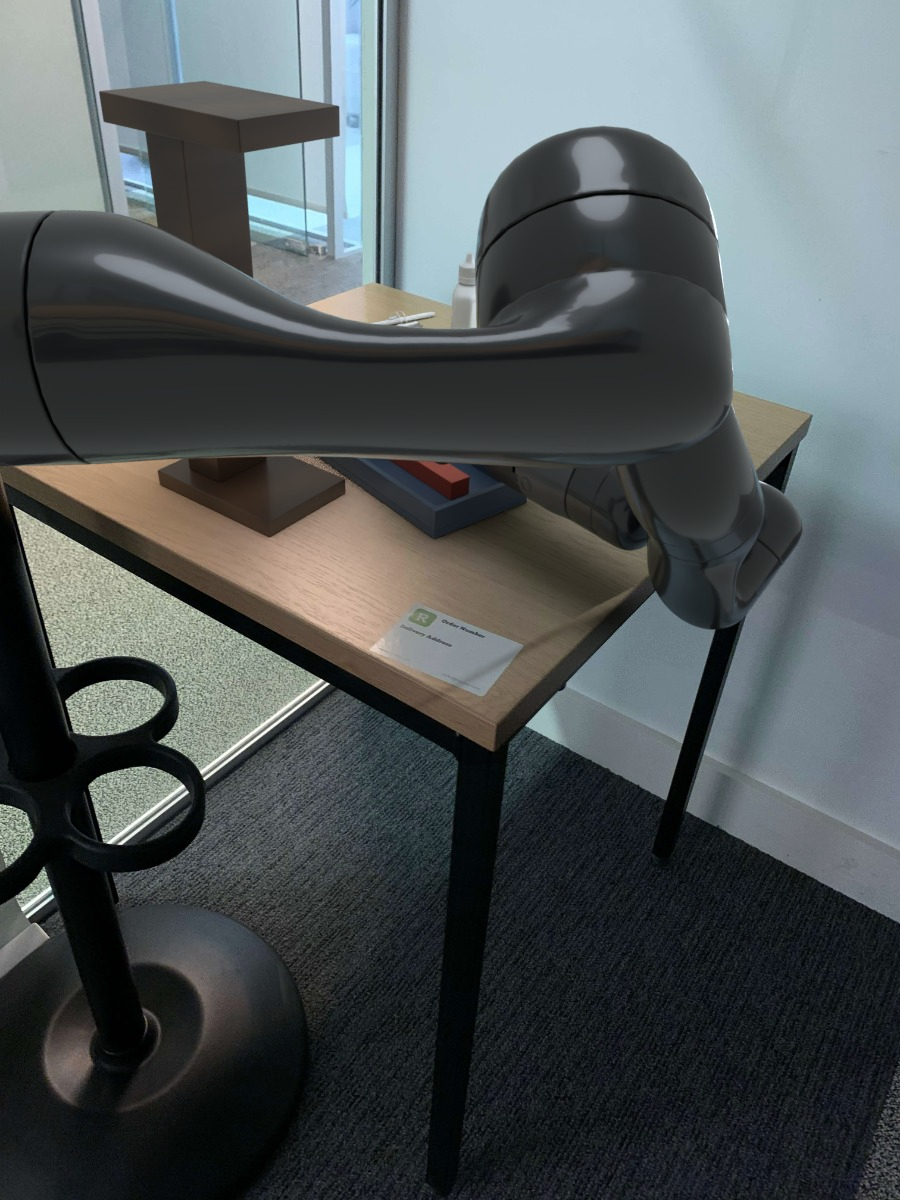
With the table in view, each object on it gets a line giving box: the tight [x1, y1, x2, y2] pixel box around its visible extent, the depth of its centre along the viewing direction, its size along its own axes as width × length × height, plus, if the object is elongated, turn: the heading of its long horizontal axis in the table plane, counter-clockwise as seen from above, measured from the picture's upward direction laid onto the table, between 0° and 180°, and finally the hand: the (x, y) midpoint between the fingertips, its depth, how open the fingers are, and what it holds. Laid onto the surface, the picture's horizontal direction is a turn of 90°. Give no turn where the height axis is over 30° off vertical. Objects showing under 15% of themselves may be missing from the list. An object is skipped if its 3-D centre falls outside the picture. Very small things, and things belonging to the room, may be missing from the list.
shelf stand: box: [98, 80, 347, 538], centre depth 74 cm, size 14×10×32 cm
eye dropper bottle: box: [450, 251, 477, 329], centre depth 111 cm, size 4×6×12 cm
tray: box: [318, 457, 528, 540], centre depth 87 cm, size 21×11×3 cm, turn 40°
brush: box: [389, 459, 470, 500], centre depth 87 cm, size 17×4×3 cm, turn 40°
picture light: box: [370, 310, 437, 328], centre depth 119 cm, size 14×4×2 cm, turn 126°
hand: (426, 387), depth 81 cm, fingers open, 8 cm apart
